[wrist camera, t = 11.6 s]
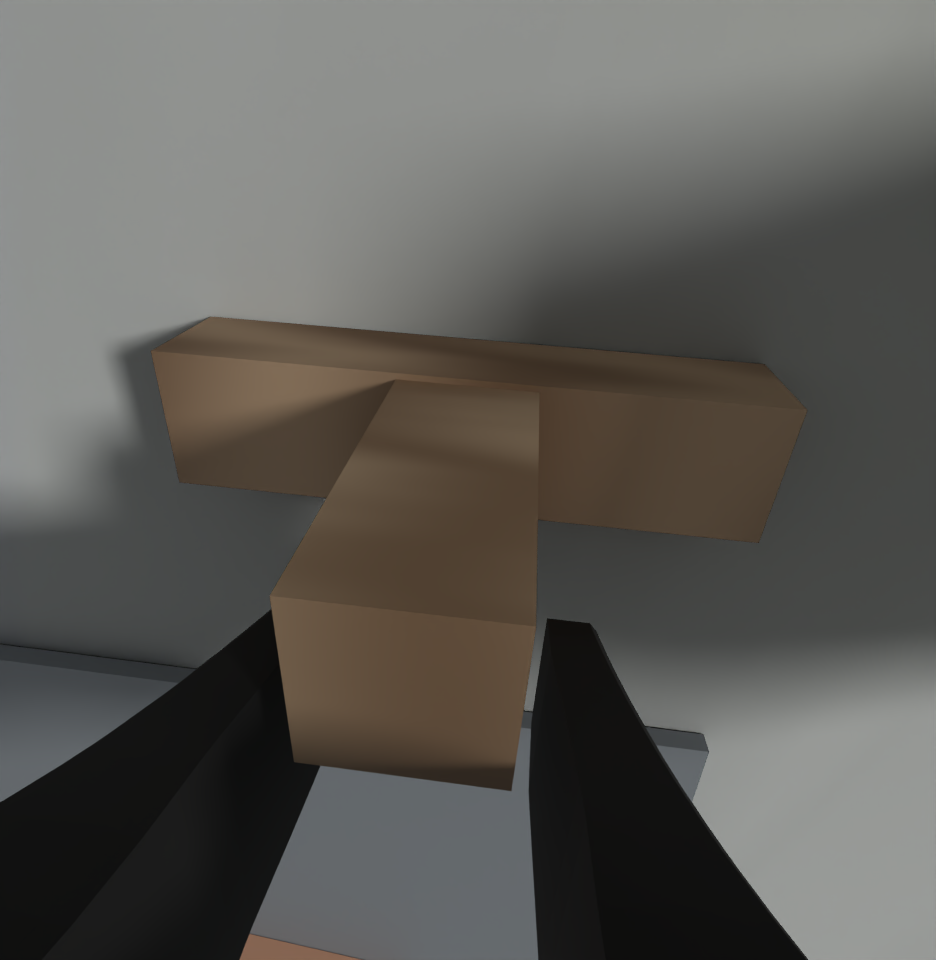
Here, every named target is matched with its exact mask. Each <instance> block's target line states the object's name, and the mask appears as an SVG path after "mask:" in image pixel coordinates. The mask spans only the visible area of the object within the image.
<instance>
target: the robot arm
mask: <svg viewBox="0 0 936 960" xmlns="http://www.w3.org/2000/svg"><path fill="white" fill-rule="evenodd" d="M319 768H320V766H319V765H312V764H304V763H297V762H294V758H293V752H292V745H291V738H290V731H289V724H288V718H287V711H286V704H285V697H284V690H283V683H282V677H281V670H280V663H279V656H278V649H277V643H276V636H275V629H274V622H273V615H272V609H271V610H270V611H269V612H267V613H266V614H265V615H264V616H262V617H261V618H260V619H259V620H258V621H256V622H255V623H254V624H253V625H251V626H250V627H249V628H248V629H247V630H245V631H244V632H243V633H242V634H240V635H239V636H238V637H237V638H235V639H234V640H233V641H232V642H230V643H229V644H228V645H227V646H226V647H224V648H223V649H222V650H220V651H219V652H218V653H217V654H215V655H214V656H213V657H211V658H210V659H209V660H208V661H206V662H205V663H204V664H202V665H201V666H200V667H199V668H197V669H196V670H195V671H193V672H192V673H191V674H190V675H188V676H187V677H186V678H184V679H183V680H182V681H181V682H179V683H178V684H177V685H175V686H174V687H173V688H171V689H170V690H169V691H167V692H166V693H165V694H163V695H162V696H160V697H159V698H158V699H156V700H155V701H153V702H152V703H151V704H149V705H148V706H146V707H145V708H144V709H142V710H141V711H140V712H138V713H137V714H135V715H134V716H133V717H131V718H130V719H128V720H127V721H126V722H124V723H123V724H121V725H120V726H119V727H117V728H116V729H114V730H113V731H112V732H110V733H109V734H107V735H106V736H104V737H103V738H101V739H100V740H98V741H97V742H95V743H94V744H92V745H91V746H89V747H88V748H86V749H85V750H83V751H82V752H80V753H79V754H77V755H76V756H74V757H73V758H71V759H69V760H68V761H66V762H65V763H63V764H62V765H60V766H59V767H57V768H55V769H54V770H52V771H50V772H49V773H47V774H46V775H44V776H42V777H41V778H39V779H37V780H36V781H34V782H33V783H31V784H29V785H28V786H26V787H24V788H23V789H21V790H20V791H18V792H16V793H15V794H13V795H11V796H10V797H8V798H6V799H5V800H3V801H1V802H0V960H240V957H241V955H242V952H243V949H244V947H245V944H246V942H247V939H248V936H249V934H250V931H251V929H252V926H253V924H254V922H255V919H256V917H257V914H258V912H259V910H260V907H261V905H262V903H263V900H264V898H265V896H266V893H267V891H268V889H269V886H270V884H271V882H272V879H273V877H274V875H275V872H276V870H277V868H278V865H279V863H280V861H281V858H282V856H283V854H284V851H285V849H286V847H287V844H288V842H289V840H290V837H291V835H292V832H293V830H294V828H295V825H296V823H297V821H298V818H299V816H300V814H301V811H302V809H303V807H304V804H305V802H306V799H307V797H308V795H309V792H310V790H311V788H312V785H313V783H314V780H315V778H316V775H317V773H318V771H319ZM529 811H530V828H531V846H532V863H533V880H534V896H535V913H536V930H537V947H538V960H808V959H807V957H806V956H805V955H804V954H803V952H802V951H801V950H800V949H799V947H798V946H797V945H796V944H795V942H794V941H793V940H792V939H791V937H790V936H789V935H788V934H787V932H786V931H785V930H784V929H783V927H782V926H781V925H780V924H779V922H778V921H777V920H776V919H775V917H774V916H773V915H772V913H771V912H770V911H769V909H768V908H767V907H766V905H765V904H764V903H763V901H762V900H761V899H760V897H759V896H758V895H757V893H756V892H755V891H754V889H753V888H752V887H751V885H750V884H749V883H748V882H747V880H746V879H745V878H744V876H743V875H742V874H741V872H740V871H739V869H738V868H737V867H736V865H735V864H734V863H733V861H732V860H731V858H730V857H729V856H728V854H727V853H726V851H725V850H724V849H723V847H722V846H721V844H720V843H719V841H718V840H717V839H716V837H715V836H714V834H713V833H712V831H711V830H710V829H709V827H708V826H707V824H706V823H705V821H704V820H703V818H702V817H701V815H700V814H699V812H698V811H697V809H696V808H695V806H694V805H693V803H692V802H691V800H690V799H689V797H688V796H687V794H686V793H685V791H684V790H683V788H682V787H681V785H680V783H679V782H678V780H677V779H676V777H675V775H674V774H673V772H672V771H671V769H670V767H669V766H668V764H667V763H666V761H665V759H664V758H663V756H662V754H661V753H660V751H659V749H658V748H657V746H656V744H655V742H654V741H653V739H652V737H651V736H650V734H649V732H648V731H647V729H646V727H645V726H644V724H643V722H642V720H641V719H640V717H639V715H638V713H637V712H636V710H635V708H634V706H633V704H632V703H631V701H630V699H629V697H628V695H627V693H626V691H625V690H624V688H623V686H622V684H621V682H620V680H619V678H618V676H617V674H616V672H615V670H614V668H613V666H612V664H611V662H610V660H609V658H608V656H607V654H606V652H605V650H604V647H603V645H602V643H601V641H600V639H599V636H598V634H597V632H596V630H595V629H594V628H593V627H592V625H591V624H590V623H581V622H573V621H564V620H556V619H548V618H547V623H546V629H545V636H544V642H543V649H542V655H541V662H540V668H539V675H538V681H537V688H536V694H535V701H534V707H533V714H532V720H531V740H530V764H529Z"/></svg>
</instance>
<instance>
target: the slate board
mask: <svg viewBox="0 0 936 960" xmlns="http://www.w3.org/2000/svg"><path fill="white" fill-rule="evenodd" d="M195 670H196V669H189V668H181V667H173V666H165V665H157V664H150V663H142V662H134V661H126V660H118V659H111V658H103V657H95V656H87V655H79V654H72V653H64V652H56V651H48V650H40V649H33V648H25V647H17V646H9V645H1V644H0V802H1V801H3V800H5V799H6V798H8V797H10V796H11V795H13V794H15V793H16V792H18V791H20V790H21V789H23V788H24V787H26V786H28V785H29V784H31V783H33V782H34V781H36V780H37V779H39V778H41V777H42V776H44V775H46V774H47V773H49V772H50V771H52V770H54V769H55V768H57V767H59V766H60V765H62V764H63V763H65V762H66V761H68V760H69V759H71V758H73V757H74V756H76V755H77V754H79V753H80V752H82V751H83V750H85V749H86V748H88V747H89V746H91V745H92V744H94V743H95V742H97V741H98V740H100V739H101V738H103V737H104V736H106V735H107V734H109V733H110V732H112V731H113V730H114V729H116V728H117V727H119V726H120V725H121V724H123V723H124V722H126V721H127V720H128V719H130V718H131V717H133V716H134V715H135V714H137V713H138V712H140V711H141V710H142V709H144V708H145V707H146V706H148V705H149V704H151V703H152V702H153V701H155V700H156V699H158V698H159V697H160V696H162V695H163V694H165V693H166V692H167V691H169V690H170V689H171V688H173V687H174V686H175V685H177V684H178V683H179V682H181V681H182V680H183V679H184V678H186V677H187V676H188V675H190V674H191V673H192V672H193V671H195ZM532 714H533V713H532V712H524V711H523V718H522V724H521V731H520V738H519V744H518V751H517V758H516V764H515V771H514V778H513V784H512V791H506V790H498V789H491V788H483V787H476V786H468V785H461V784H453V783H446V782H439V781H431V780H424V779H416V778H409V777H401V776H394V775H386V774H379V773H371V772H364V771H356V770H349V769H341V768H334V767H327V766H320V768H319V771H318V773H317V775H316V778H315V780H314V783H313V785H312V788H311V790H310V792H309V795H308V797H307V799H306V802H305V804H304V807H303V809H302V811H301V814H300V816H299V818H298V821H297V823H296V825H295V828H294V830H293V832H292V835H291V837H290V840H289V842H288V844H287V847H286V849H285V851H284V854H283V856H282V858H281V861H280V863H279V865H278V868H277V870H276V872H275V875H274V877H273V879H272V882H271V884H270V886H269V889H268V891H267V893H266V896H265V898H264V900H263V903H262V905H261V907H260V910H259V912H258V914H257V917H256V919H255V922H254V924H253V926H252V929H251V931H250V934H252V935H256V936H261V937H265V938H270V939H274V940H278V941H283V942H287V943H291V944H296V945H300V946H304V947H309V948H313V949H318V950H322V951H326V952H331V953H335V954H339V955H344V956H348V957H353V958H357V959H361V960H538V947H537V930H536V913H535V896H534V880H533V863H532V846H531V828H530V811H529V764H530V740H531V720H532ZM646 729H647V731H648V732H649V734H650V736H651V737H652V739H653V741H654V742H655V744H656V746H657V748H658V749H659V751H660V753H661V754H662V756H663V758H664V759H665V761H666V763H667V764H668V766H669V767H670V769H671V771H672V772H673V774H674V775H675V777H676V779H677V780H678V782H679V783H680V785H681V787H682V788H683V790H684V791H685V793H686V794H687V796H688V797H689V799H690V800H691V802H692V800H693V797H694V794H695V791H696V789H697V786H698V783H699V780H700V777H701V774H702V771H703V768H704V765H705V762H706V759H707V756H708V753H709V750H708V747H707V744H706V741H705V737H704V734H696V733H688V732H680V731H673V730H665V729H657V728H649V727H646Z"/></svg>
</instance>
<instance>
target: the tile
mask: <svg viewBox="0 0 936 960" xmlns="http://www.w3.org/2000/svg"><path fill="white" fill-rule="evenodd" d="M240 960H361V959H357V958H353V957H348V956H344V955H339V954H335V953H331V952H326V951H322V950H318V949H313V948H309V947H304V946H300V945H296V944H291V943H287V942H283V941H278V940H274V939H270V938H265V937H261V936H256V935H252V934H249V936H248V939H247V942H246V944H245V947H244V949H243V952H242V955H241V957H240Z"/></svg>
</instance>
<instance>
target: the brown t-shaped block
mask: <svg viewBox="0 0 936 960" xmlns="http://www.w3.org/2000/svg"><path fill="white" fill-rule="evenodd" d="M151 354H152V359H153V363H154V368H155V372H156V377H157V382H158V386H159V391H160V395H161V400H162V404H163V409H164V414H165V418H166V423H167V427H168V432H169V437H170V441H171V446H172V450H173V455H174V459H175V464H176V469H177V473H178V478H179V482H181V483H190V484H200V485H209V486H219V487H228V488H238V489H248V490H257V491H267V492H276V493H286V494H295V495H305V496H314V497H324V498H326V500H325V502H324V504H323V505H322V507H321V509H320V510H319V512H318V514H317V516H316V517H315V519H314V521H313V522H312V524H311V526H310V527H309V529H308V531H307V533H306V534H305V536H304V538H303V539H302V541H301V543H300V545H299V546H298V548H297V550H296V551H295V553H294V555H293V557H292V558H291V560H290V562H289V563H288V565H287V567H286V569H285V570H284V572H283V574H282V575H281V577H280V579H279V581H278V582H277V584H276V586H275V587H274V589H273V591H272V593H271V594H270V602H271V609H272V615H273V622H274V629H275V636H276V643H277V649H278V656H279V663H280V670H281V677H282V683H283V690H284V697H285V704H286V711H287V718H288V724H289V731H290V738H291V745H292V752H293V758H294V762H297V763H304V764H312V765H319V766H327V767H334V768H341V769H349V770H356V771H364V772H371V773H379V774H386V775H394V776H401V777H409V778H416V779H424V780H431V781H439V782H446V783H453V784H461V785H468V786H476V787H483V788H491V789H498V790H506V791H512V784H513V778H514V771H515V764H516V758H517V751H518V744H519V738H520V731H521V724H522V718H523V711H524V704H525V698H526V691H527V684H528V678H529V671H530V664H531V658H532V651H533V644H534V638H535V631H536V603H537V533H538V520H544V521H553V522H563V523H573V524H582V525H592V526H601V527H611V528H620V529H630V530H639V531H649V532H659V533H668V534H678V535H687V536H697V537H706V538H716V539H725V540H735V541H745V542H754V543H759V541H760V538H761V535H762V533H763V530H764V527H765V524H766V522H767V519H768V516H769V514H770V511H771V508H772V505H773V503H774V500H775V497H776V495H777V492H778V489H779V486H780V484H781V481H782V478H783V476H784V473H785V470H786V467H787V465H788V462H789V459H790V456H791V454H792V451H793V448H794V446H795V443H796V440H797V437H798V435H799V432H800V429H801V427H802V424H803V421H804V418H805V416H806V413H807V409H806V408H805V407H804V406H803V405H802V404H801V403H800V402H799V401H798V400H797V398H796V397H795V396H794V395H793V394H792V393H791V392H790V391H789V390H788V389H787V388H786V387H785V386H784V385H783V383H782V382H781V381H780V380H779V379H778V378H777V377H776V376H775V375H774V374H773V373H772V372H771V371H770V370H769V368H768V367H767V366H766V365H765V364H756V363H744V362H733V361H721V360H709V359H698V358H686V357H675V356H663V355H651V354H640V353H628V352H616V351H605V350H593V349H581V348H570V347H558V346H547V345H535V344H523V343H512V342H500V341H488V340H477V339H465V338H453V337H442V336H430V335H418V334H407V333H395V332H384V331H372V330H360V329H349V328H337V327H325V326H314V325H302V324H290V323H279V322H267V321H256V320H244V319H232V318H221V317H209V318H208V319H206V320H204V321H202V322H201V323H199V324H197V325H195V326H194V327H192V328H190V329H188V330H187V331H185V332H183V333H181V334H180V335H178V336H176V337H174V338H173V339H171V340H169V341H167V342H166V343H164V344H162V345H160V346H159V347H157V348H155V349H153V350H152V351H151Z"/></svg>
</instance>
